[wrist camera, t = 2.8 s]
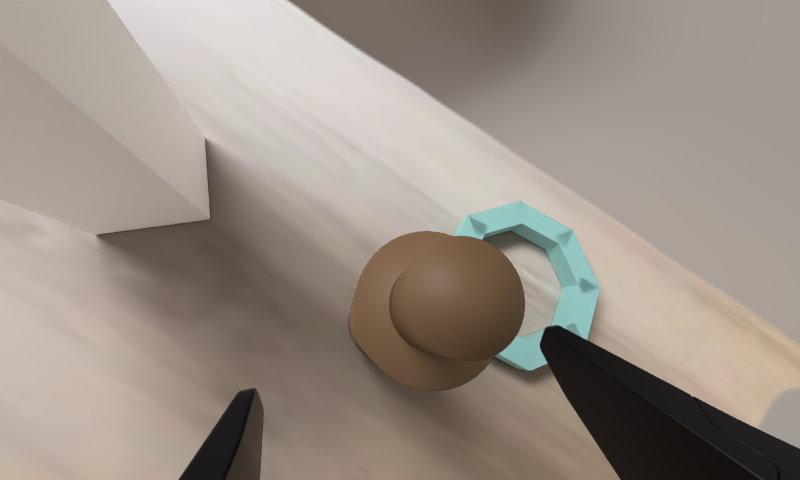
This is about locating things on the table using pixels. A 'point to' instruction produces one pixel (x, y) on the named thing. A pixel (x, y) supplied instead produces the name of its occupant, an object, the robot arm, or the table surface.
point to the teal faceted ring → (567, 265)
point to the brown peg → (436, 309)
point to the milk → (92, 123)
